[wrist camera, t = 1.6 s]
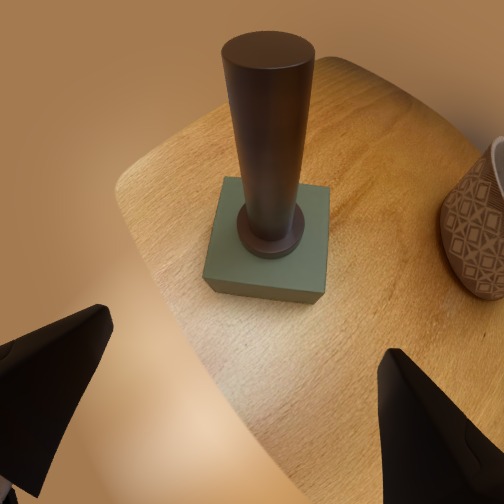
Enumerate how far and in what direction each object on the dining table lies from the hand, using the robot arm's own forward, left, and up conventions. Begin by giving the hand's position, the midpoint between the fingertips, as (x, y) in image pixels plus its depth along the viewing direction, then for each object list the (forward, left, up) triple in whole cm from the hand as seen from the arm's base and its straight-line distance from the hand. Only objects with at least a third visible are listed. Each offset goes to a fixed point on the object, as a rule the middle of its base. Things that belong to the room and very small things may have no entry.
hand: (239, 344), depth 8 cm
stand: (+7, +3, -13) cm, 16 cm away
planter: (+19, -16, -14) cm, 28 cm away
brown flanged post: (+7, +3, -9) cm, 12 cm away
